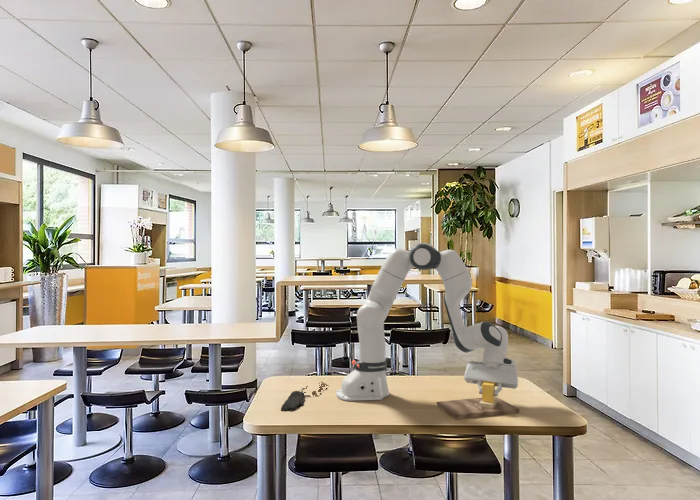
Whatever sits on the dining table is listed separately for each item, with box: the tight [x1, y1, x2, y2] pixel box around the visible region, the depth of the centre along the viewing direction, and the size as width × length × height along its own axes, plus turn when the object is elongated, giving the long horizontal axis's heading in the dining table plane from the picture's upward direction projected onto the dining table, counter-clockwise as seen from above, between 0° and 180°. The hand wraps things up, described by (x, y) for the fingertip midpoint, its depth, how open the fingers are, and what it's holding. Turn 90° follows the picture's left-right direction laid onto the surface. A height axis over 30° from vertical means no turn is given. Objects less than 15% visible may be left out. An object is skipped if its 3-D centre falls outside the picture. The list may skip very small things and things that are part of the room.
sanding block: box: [479, 382, 499, 409], centre depth 189 cm, size 9×5×8 cm, turn 153°
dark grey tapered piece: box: [280, 390, 306, 412], centre depth 197 cm, size 22×7×3 cm, turn 173°
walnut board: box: [435, 396, 520, 420], centre depth 188 cm, size 26×16×2 cm, turn 106°
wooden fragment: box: [301, 381, 329, 398], centre depth 216 cm, size 26×11×1 cm, turn 167°
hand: (488, 394), depth 188 cm, fingers closed on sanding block, 4 cm apart
